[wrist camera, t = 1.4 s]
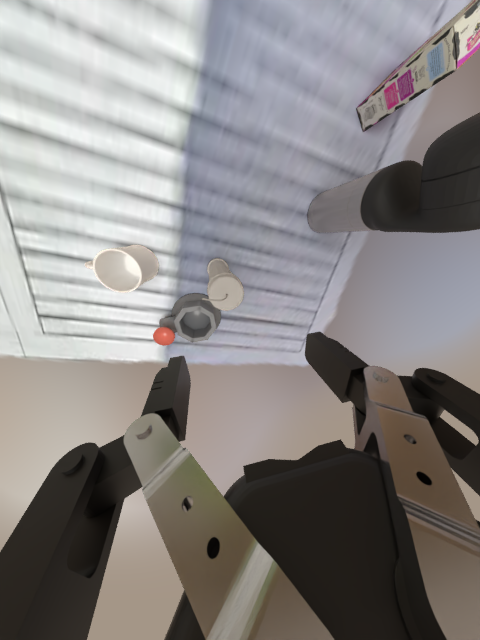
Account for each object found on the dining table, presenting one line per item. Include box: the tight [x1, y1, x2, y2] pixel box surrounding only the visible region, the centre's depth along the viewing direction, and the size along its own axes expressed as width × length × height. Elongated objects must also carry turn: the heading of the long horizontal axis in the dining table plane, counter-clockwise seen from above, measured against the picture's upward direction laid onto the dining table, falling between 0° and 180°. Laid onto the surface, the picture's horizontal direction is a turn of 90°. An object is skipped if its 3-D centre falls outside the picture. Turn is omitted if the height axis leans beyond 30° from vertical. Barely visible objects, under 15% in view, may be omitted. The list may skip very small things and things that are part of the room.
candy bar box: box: [357, 0, 480, 131], centre depth 29 cm, size 11×5×16 cm, turn 131°
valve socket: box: [153, 293, 221, 345], centre depth 46 cm, size 17×14×10 cm
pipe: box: [202, 258, 244, 311], centre depth 32 cm, size 6×6×30 cm
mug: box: [85, 245, 159, 293], centre depth 37 cm, size 12×8×12 cm
